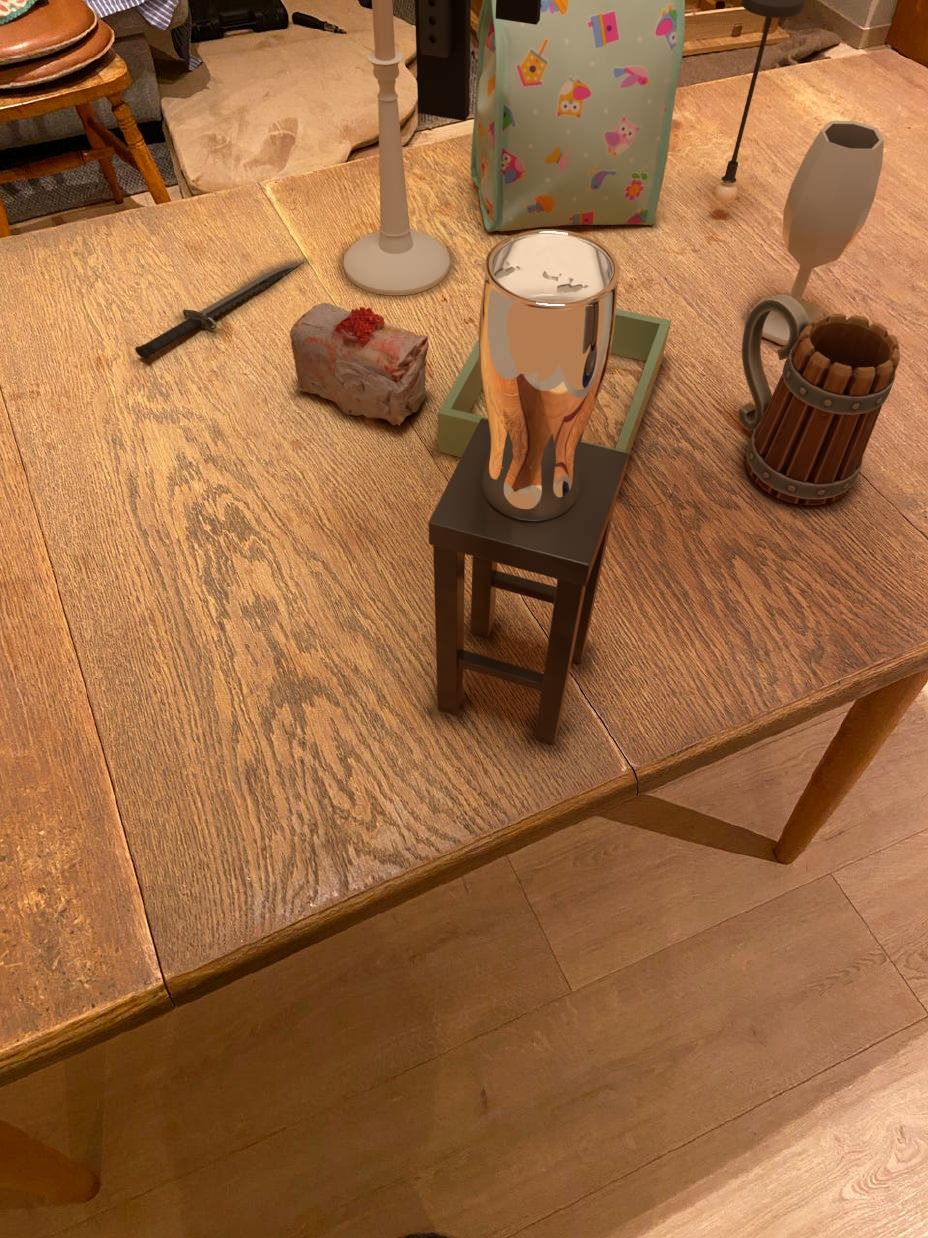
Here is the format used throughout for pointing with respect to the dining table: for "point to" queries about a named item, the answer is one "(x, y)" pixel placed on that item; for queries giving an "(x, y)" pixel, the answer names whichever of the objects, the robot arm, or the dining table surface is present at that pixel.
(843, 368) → the mug
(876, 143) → the wineglass
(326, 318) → the food item
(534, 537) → the stool
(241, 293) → the knife
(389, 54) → the candlestick
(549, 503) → the beer glass
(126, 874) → the dining table surface
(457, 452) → the green rectangular open frame
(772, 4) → the light fixture
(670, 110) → the lunch bag
